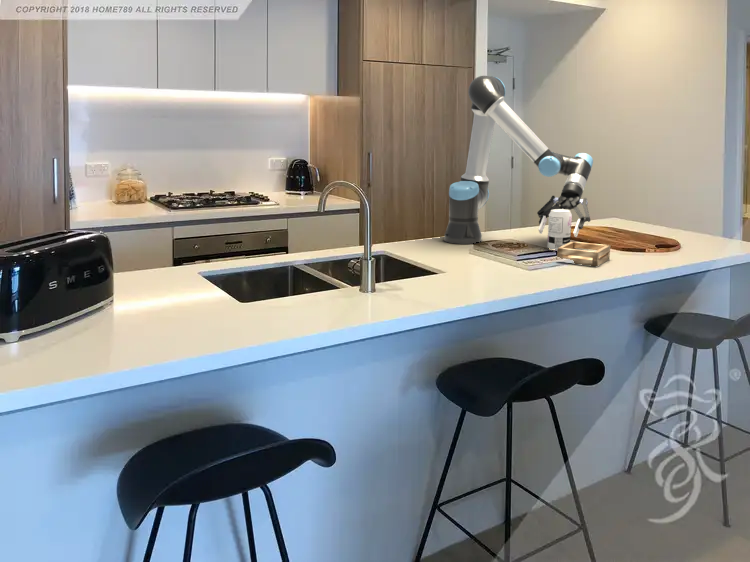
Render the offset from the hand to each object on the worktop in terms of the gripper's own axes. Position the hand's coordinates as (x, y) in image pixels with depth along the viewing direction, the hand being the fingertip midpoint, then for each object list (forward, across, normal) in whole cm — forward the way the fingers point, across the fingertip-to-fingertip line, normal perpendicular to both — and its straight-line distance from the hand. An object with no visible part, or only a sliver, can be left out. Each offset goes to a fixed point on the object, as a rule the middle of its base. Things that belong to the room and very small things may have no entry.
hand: (557, 233), depth 260 cm
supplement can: (+3, 0, -6) cm, 7 cm away
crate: (+12, -14, +3) cm, 19 cm away
